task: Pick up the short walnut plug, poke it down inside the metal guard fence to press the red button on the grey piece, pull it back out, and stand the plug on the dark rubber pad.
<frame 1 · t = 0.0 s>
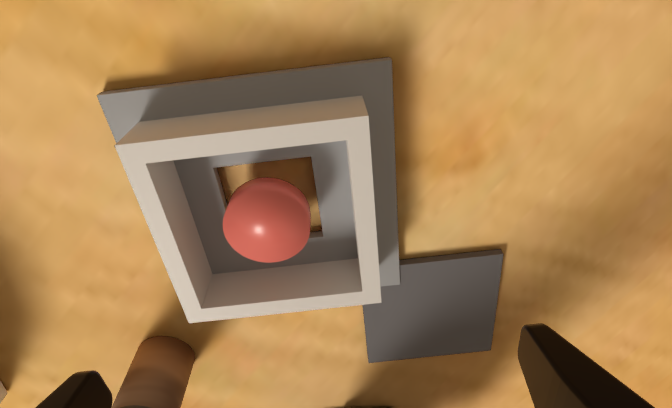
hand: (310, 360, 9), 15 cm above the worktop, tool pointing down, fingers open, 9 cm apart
pad: (428, 307, 29), on the worktop
button: (268, 221, 22), point 2 cm above the worktop, slide at 0.0 cm
grey piece: (272, 198, 24), on the worktop
dowel: (166, 355, 30), on the worktop
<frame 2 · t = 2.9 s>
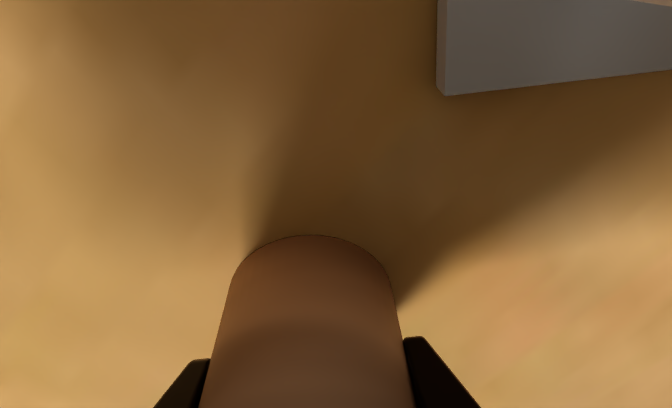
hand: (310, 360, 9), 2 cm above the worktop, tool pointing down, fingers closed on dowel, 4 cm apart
dowel: (311, 300, 10), on the worktop, touching gripper
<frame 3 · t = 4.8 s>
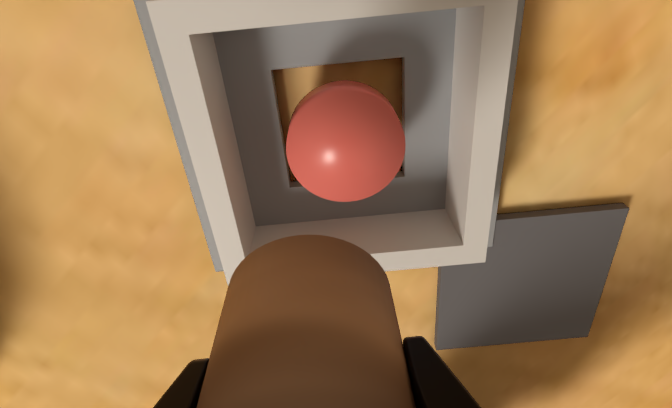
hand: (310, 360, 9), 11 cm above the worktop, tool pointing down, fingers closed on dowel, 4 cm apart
pad: (518, 280, 23), on the worktop
button: (344, 143, 16), point 2 cm above the worktop, slide at 0.0 cm
grey piece: (342, 122, 18), on the worktop
dowel: (309, 300, 10), point 10 cm above the worktop, touching gripper
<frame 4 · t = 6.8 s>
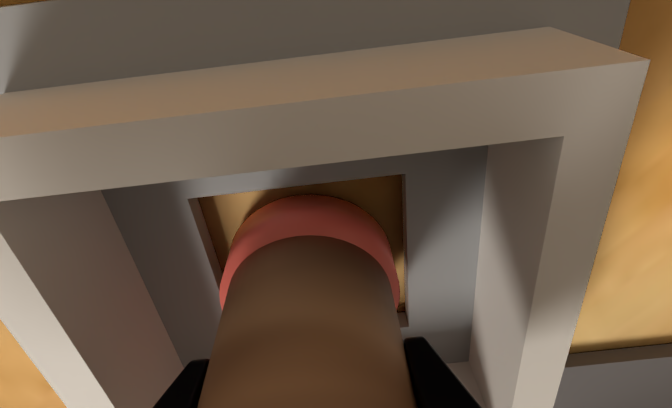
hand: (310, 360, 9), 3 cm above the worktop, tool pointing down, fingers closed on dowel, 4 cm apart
button: (310, 281, 11), point 1 cm above the worktop, slide at 1.3 cm, touching dowel
grey piece: (311, 256, 12), on the worktop
dowel: (310, 301, 10), point 2 cm above the worktop, touching button, gripper
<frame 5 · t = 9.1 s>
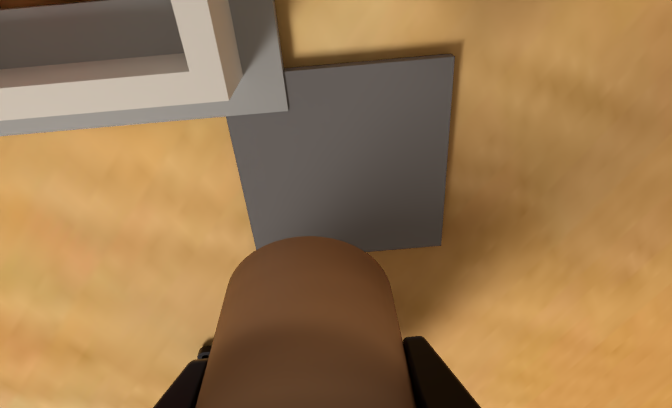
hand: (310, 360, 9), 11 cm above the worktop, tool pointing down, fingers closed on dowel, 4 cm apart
pad: (343, 167, 19), on the worktop
dowel: (309, 302, 10), point 9 cm above the worktop, touching gripper
when the fingers open (3 cm above the worktop, at t = 11.0 s): dowel drops 1 cm, resting on pad.
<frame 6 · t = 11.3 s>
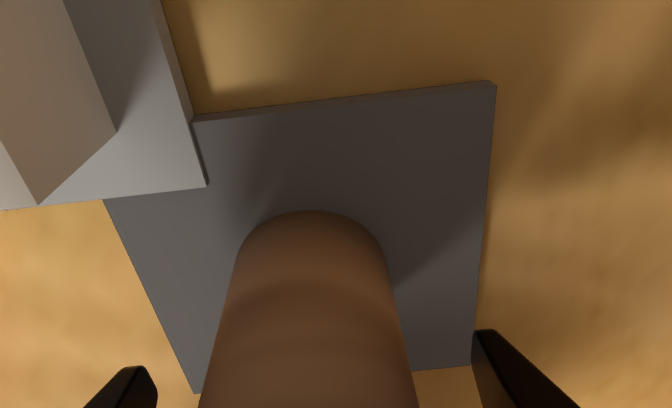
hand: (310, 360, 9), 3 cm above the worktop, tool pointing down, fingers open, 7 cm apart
pad: (312, 262, 12), on the worktop
dowel: (311, 273, 11), point 1 cm above the worktop, touching pad
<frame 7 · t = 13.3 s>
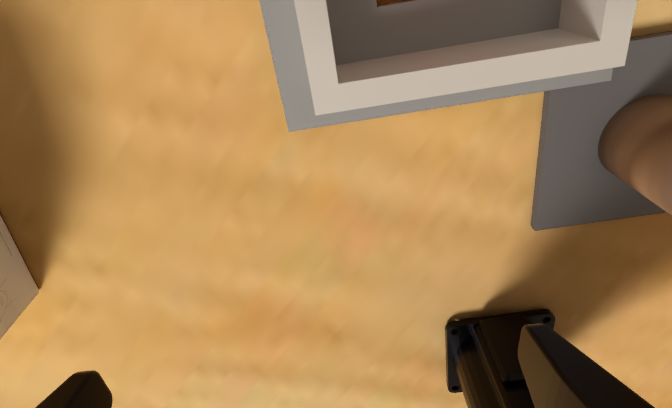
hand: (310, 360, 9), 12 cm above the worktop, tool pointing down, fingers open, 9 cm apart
pad: (634, 133, 20), on the worktop
dowel: (642, 137, 19), point 1 cm above the worktop, touching pad
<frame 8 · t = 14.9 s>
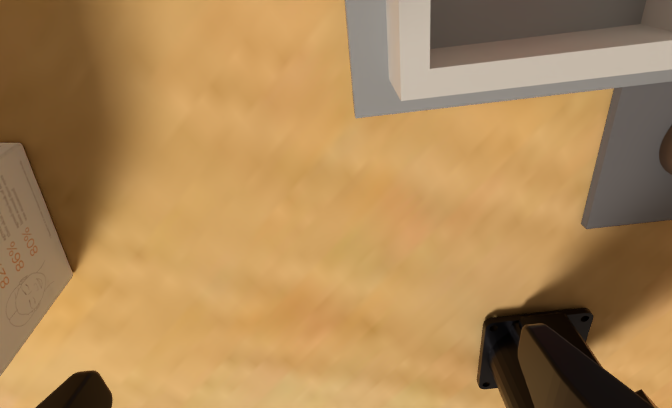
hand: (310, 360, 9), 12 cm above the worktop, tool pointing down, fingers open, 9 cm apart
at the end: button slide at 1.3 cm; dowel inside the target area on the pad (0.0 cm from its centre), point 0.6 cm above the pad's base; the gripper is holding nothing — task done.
